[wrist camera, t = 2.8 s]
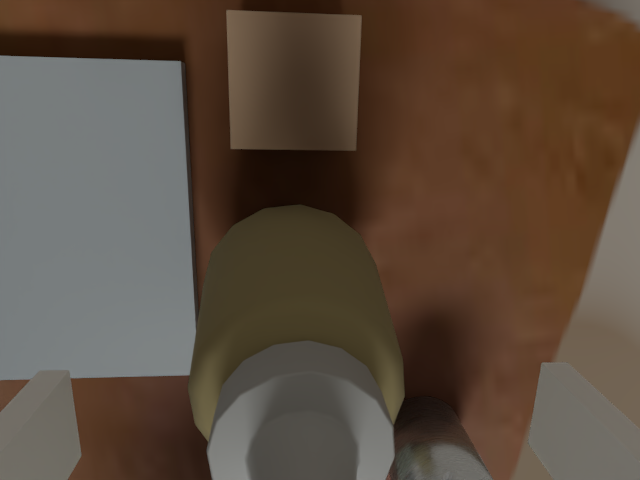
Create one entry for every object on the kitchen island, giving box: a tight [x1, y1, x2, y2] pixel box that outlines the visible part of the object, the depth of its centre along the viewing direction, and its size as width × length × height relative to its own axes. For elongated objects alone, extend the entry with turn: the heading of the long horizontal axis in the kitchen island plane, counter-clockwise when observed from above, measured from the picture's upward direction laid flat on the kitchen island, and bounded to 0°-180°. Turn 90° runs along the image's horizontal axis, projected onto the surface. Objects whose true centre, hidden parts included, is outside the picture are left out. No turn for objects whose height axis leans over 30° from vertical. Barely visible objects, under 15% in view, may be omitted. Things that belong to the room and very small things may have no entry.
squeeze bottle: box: [188, 204, 405, 480], centre depth 16 cm, size 8×8×18 cm
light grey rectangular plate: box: [0, 56, 199, 380], centre depth 23 cm, size 18×16×1 cm
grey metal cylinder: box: [389, 396, 493, 480], centre depth 26 cm, size 5×5×6 cm
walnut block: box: [226, 10, 362, 151], centre depth 20 cm, size 5×5×5 cm
